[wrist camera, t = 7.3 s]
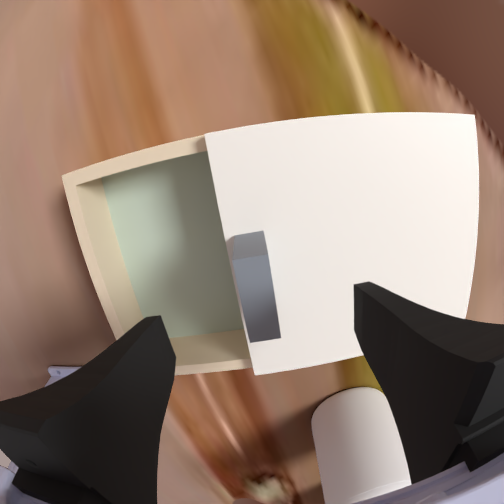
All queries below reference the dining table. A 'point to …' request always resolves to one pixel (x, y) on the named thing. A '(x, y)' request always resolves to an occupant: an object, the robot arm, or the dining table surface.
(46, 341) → the dining table surface
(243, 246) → the lid
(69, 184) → the beige open box
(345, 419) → the pill bottle
